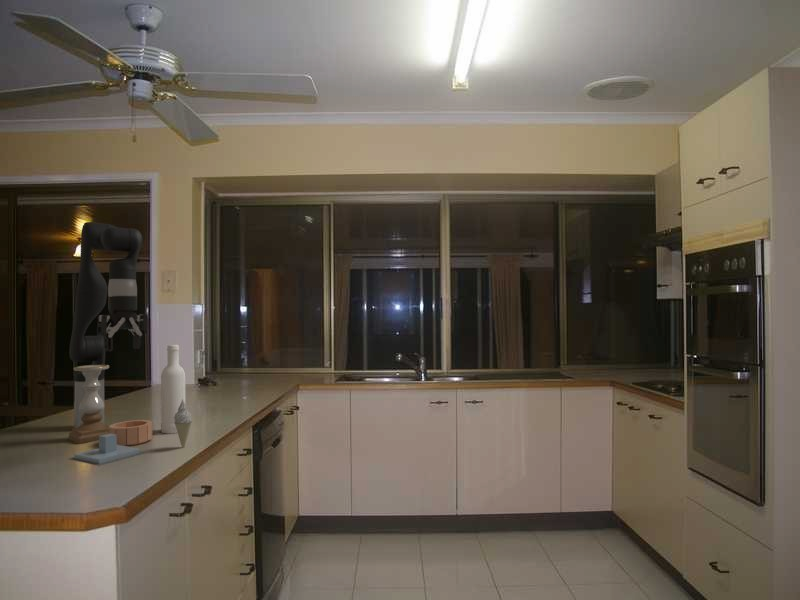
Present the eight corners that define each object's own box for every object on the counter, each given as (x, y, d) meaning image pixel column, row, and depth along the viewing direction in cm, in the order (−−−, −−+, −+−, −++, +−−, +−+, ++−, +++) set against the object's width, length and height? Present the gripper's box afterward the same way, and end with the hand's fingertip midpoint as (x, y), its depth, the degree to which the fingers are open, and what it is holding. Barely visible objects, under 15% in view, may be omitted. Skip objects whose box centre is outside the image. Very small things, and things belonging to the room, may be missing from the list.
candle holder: (115, 437, 172) (115, 365, 172) (78, 444, 164) (78, 368, 164) (104, 432, 179) (104, 363, 180) (68, 439, 171) (67, 366, 172)
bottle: (176, 434, 176) (176, 345, 176) (156, 433, 177) (155, 345, 178) (190, 428, 183) (190, 344, 184) (170, 428, 185) (170, 344, 186)
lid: (74, 458, 146) (74, 437, 147) (115, 448, 157) (115, 428, 157) (99, 463, 141) (99, 442, 141) (140, 453, 151) (140, 433, 151)
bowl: (101, 445, 162) (101, 426, 162) (137, 436, 173) (136, 418, 173) (124, 449, 156) (124, 429, 156) (160, 440, 167) (160, 422, 167)
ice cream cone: (177, 446, 159) (177, 397, 159) (194, 446, 160) (194, 397, 160) (171, 451, 154) (171, 400, 154) (189, 450, 155) (188, 400, 155)
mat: (67, 460, 146) (67, 458, 146) (115, 448, 159) (115, 446, 159) (98, 467, 139) (98, 465, 139) (146, 454, 151) (146, 452, 151)
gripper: (136, 296, 161) (137, 348, 161) (91, 295, 149) (91, 351, 148) (152, 295, 158) (153, 348, 157) (107, 294, 145) (107, 351, 145)
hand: (123, 349), depth 153 cm, fingers open, 8 cm apart
